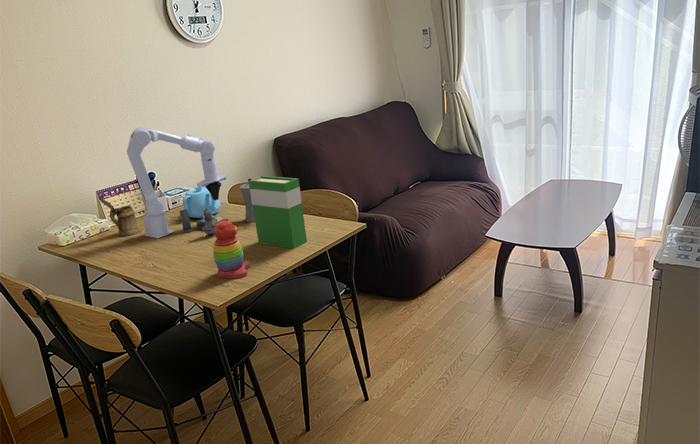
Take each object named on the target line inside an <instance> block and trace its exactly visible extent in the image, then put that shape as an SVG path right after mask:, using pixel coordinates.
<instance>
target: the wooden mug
mask: <svg viewBox="0 0 700 444" xmlns="http://www.w3.org/2000/svg"><path fill="white" fill-rule="evenodd" d="M99 202H101V203H102V204H103V205H104V206H106V207H107V208H108V209H110V211H109V218H110V220H111V221H112V223H113V224H114V225H115V226H116V227H117V229H118V232H117V233H118V236H121V237H128V236H132V235H136V234H138V233H140V232H141V231H142V229H141V227H140V226H139V223H138V221H137V218H136V215H135V214H136V213H135V210H134V209H133V207H132V205H125V206H121V207H118V208H116V207H114V206H113V205H112V204H111V203H110V202H108V201H107V200H105V199H104V198H102V197H101V198H100V197H99ZM115 216H116V217H117V219H116V218H115Z"/></svg>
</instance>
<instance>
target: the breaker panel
mask: <svg viewBox="0 0 700 444" xmlns="http://www.w3.org/2000/svg"><path fill="white" fill-rule="evenodd" d="M203 217H204V216H203ZM212 217H213V223H214V225H216V224H217V223H218V222H220V221H221V220H222V219H223V220H224V221H229V218H227V217H226V218H225V217H222V216H215V215H212ZM203 227H205V220H204V219H199V220H198V221H196V228H197V229H198V230H203Z"/></svg>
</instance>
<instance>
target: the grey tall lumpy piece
mask: <svg viewBox="0 0 700 444" xmlns="http://www.w3.org/2000/svg"><path fill="white" fill-rule="evenodd" d="M203 213H204V220H205V227H203V229H202V230H203V232H204V233H205V234H206V235H204V237H205V238H206V239H212V238H216V236H215V234H214V227H215V225H214V223H213V217H212V216H213V215H211V211H210V210H209V209H207V207H206V209H205V210H204V211H203Z"/></svg>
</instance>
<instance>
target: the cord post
mask: <svg viewBox="0 0 700 444" xmlns="http://www.w3.org/2000/svg"><path fill="white" fill-rule="evenodd" d="M179 214H180V215H179V216H180V220H181V224H182V230H181V232H182V233H183V234H187V233H188V234H189V233H191V232H193V231H194V228H193V227H192V226H191V221H190V217H189V215H188V210H184V209H181V210H179Z"/></svg>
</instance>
